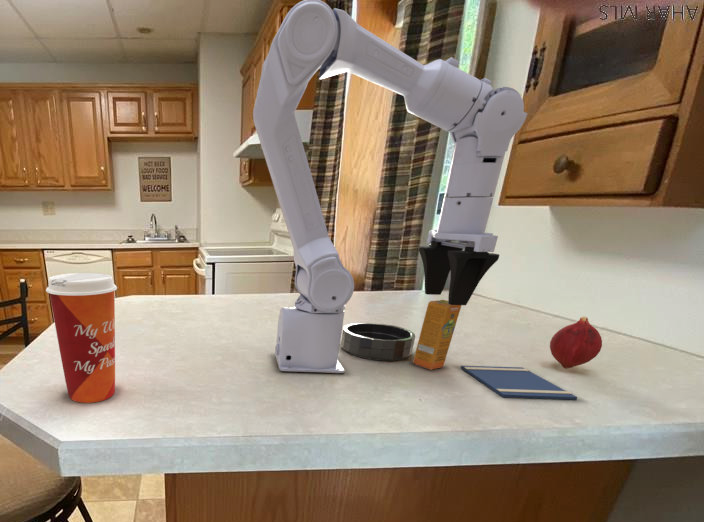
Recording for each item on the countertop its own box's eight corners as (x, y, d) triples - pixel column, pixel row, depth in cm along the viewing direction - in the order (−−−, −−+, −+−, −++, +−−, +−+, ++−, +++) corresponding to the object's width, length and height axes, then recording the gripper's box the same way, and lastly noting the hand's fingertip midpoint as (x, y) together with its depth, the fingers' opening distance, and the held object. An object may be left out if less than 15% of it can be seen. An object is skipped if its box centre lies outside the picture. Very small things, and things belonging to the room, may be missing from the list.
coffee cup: (92, 412, 50) (80, 284, 44) (45, 397, 54) (28, 278, 48) (137, 389, 57) (131, 275, 51) (92, 376, 61) (82, 270, 55)
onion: (600, 376, 62) (622, 323, 59) (556, 373, 63) (575, 320, 60) (576, 363, 67) (595, 313, 64) (535, 360, 68) (552, 311, 65)
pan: (350, 360, 68) (353, 339, 67) (334, 340, 78) (336, 322, 77) (422, 362, 67) (427, 341, 66) (396, 342, 77) (400, 323, 76)
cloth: (503, 397, 55) (504, 393, 55) (460, 367, 65) (461, 364, 65) (576, 400, 54) (577, 396, 54) (521, 369, 64) (522, 366, 64)
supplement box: (432, 371, 64) (448, 305, 60) (412, 364, 67) (426, 300, 63) (446, 367, 65) (462, 303, 61) (425, 360, 68) (440, 298, 64)
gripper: (535, 196, 50) (502, 310, 55) (470, 199, 63) (449, 290, 68) (473, 196, 50) (446, 309, 55) (421, 198, 63) (403, 289, 69)
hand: (444, 299), depth 62 cm, fingers open, 7 cm apart
